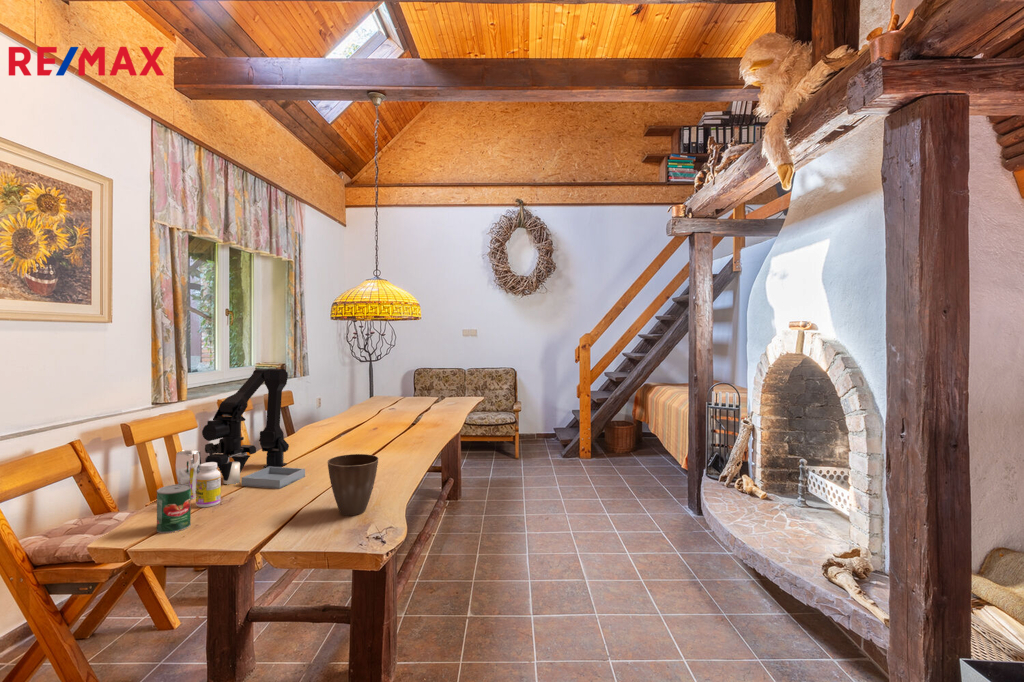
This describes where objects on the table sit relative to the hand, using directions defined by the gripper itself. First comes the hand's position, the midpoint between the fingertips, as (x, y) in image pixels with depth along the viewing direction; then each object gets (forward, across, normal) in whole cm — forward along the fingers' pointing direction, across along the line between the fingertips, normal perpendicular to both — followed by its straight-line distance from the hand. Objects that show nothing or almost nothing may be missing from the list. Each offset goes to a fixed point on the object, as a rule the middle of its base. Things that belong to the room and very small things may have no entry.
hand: (231, 478), depth 178 cm
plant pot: (+2, +17, +56) cm, 59 cm away
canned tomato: (+2, +39, +14) cm, 41 cm away
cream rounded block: (+2, 0, 0) cm, 2 cm away
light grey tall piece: (+2, +17, -2) cm, 17 cm away
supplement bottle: (+2, +21, +9) cm, 23 cm away
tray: (+2, -5, +14) cm, 14 cm away
